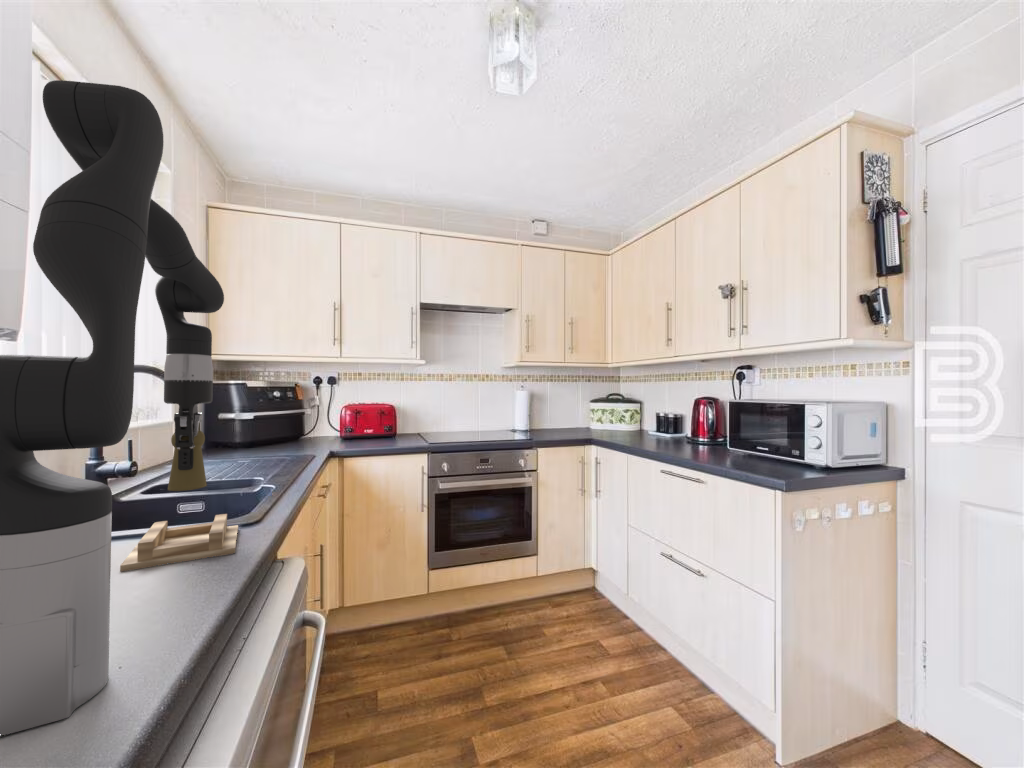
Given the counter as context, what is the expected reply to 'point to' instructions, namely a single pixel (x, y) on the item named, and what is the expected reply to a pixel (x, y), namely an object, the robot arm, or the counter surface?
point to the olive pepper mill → (194, 476)
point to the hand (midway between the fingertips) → (187, 467)
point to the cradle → (182, 543)
